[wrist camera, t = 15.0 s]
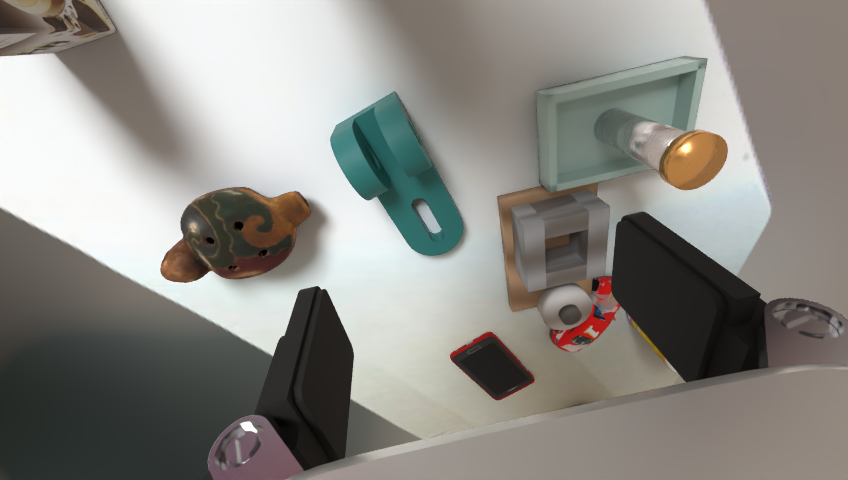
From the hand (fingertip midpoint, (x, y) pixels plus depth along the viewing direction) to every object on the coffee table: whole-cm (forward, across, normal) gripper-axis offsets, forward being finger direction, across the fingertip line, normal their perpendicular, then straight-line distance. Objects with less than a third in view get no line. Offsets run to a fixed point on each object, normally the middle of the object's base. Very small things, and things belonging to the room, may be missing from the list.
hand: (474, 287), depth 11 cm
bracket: (+29, +2, +8) cm, 30 cm away
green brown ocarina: (+29, +20, +7) cm, 36 cm away
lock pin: (+28, -20, +6) cm, 35 cm away
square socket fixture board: (+28, -13, +20) cm, 37 cm away
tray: (+28, -20, +6) cm, 35 cm away
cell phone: (+29, -4, +41) cm, 50 cm away
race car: (+29, -18, +33) cm, 47 cm away
